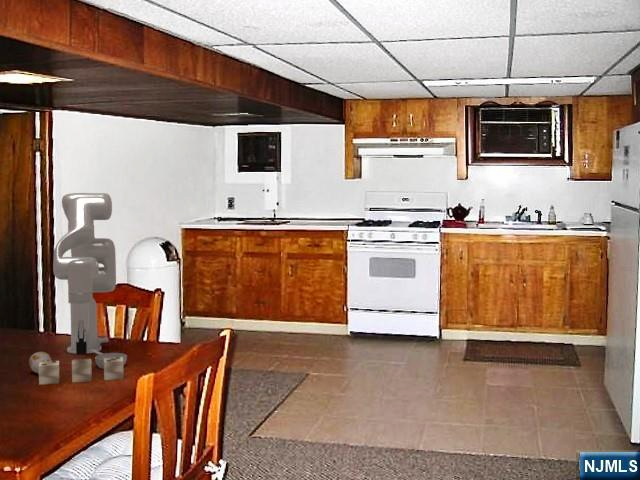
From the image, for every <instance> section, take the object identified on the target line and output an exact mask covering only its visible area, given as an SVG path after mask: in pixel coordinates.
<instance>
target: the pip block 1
mask: <svg viewBox="0 0 640 480" xmlns="http://www.w3.org/2000/svg"><path fill="white" fill-rule="evenodd" d="M59 383H60V360H52V361H46V362H40V363H39V374H38V385H39V386H40V385H41V386H42V385H53V384H54V385H55V384H56V385H57V384H59Z"/></svg>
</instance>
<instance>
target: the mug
mask: <svg viewBox="0 0 640 480" xmlns="http://www.w3.org/2000/svg"><path fill="white" fill-rule="evenodd" d="M46 361H53V360H52V357H51V356H50V354H49V353H47V352H45V351H38V352H37V351H36V352H35V353H33V354H32V355H31V356H30V357H29V360H28V365H29V367H30V369H31V371H33V372H34V373H36V374H38V375H39V363H40V362H46Z"/></svg>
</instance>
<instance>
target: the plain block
mask: <svg viewBox="0 0 640 480" xmlns="http://www.w3.org/2000/svg"><path fill="white" fill-rule="evenodd" d="M92 371H93V370H92V358H83V359H82V358H80V359H72V360H71V381H72V383H84V382H86V383H87V382H92V380H93V379H92V378H93V377H92V376H93V375H92Z"/></svg>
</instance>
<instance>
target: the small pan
mask: <svg viewBox="0 0 640 480" xmlns="http://www.w3.org/2000/svg"><path fill="white" fill-rule="evenodd" d="M91 351H92V352H94V353H93V354H96V356H95V357H94V359H95V360H94V361H95V364H96V365H97V367H98V368H99V369H103V370H104V358H113V357H123V367H124V366H125V365H126V363H127V359H128V355H127V354H125V353H120V352H109V353H107V352H106V353H102V352H100V351H96V350H91Z"/></svg>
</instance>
